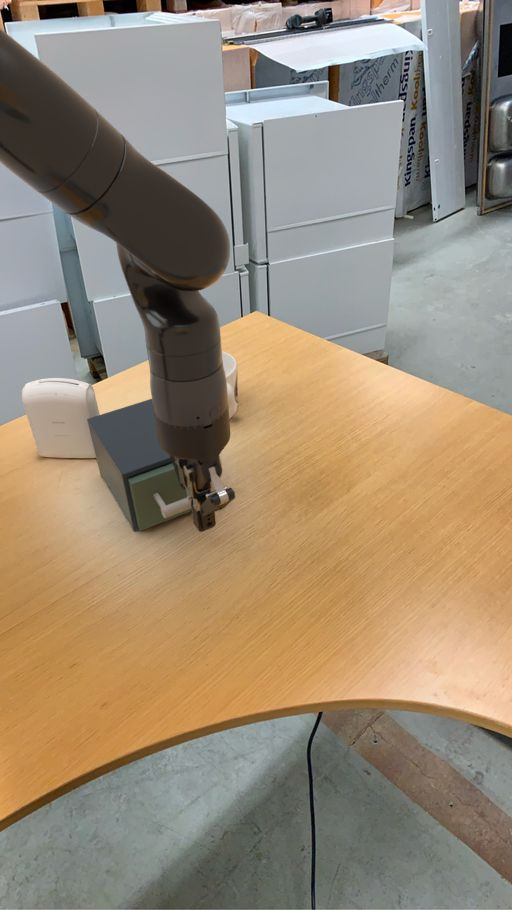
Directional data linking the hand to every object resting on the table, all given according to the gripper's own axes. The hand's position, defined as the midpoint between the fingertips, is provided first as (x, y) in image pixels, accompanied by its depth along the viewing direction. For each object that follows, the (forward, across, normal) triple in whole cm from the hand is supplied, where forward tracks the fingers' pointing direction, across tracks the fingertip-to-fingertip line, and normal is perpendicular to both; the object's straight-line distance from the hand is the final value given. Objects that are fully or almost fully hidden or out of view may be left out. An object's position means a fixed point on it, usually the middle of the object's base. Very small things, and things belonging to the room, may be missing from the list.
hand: (205, 526), depth 76 cm
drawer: (+5, -12, 0) cm, 13 cm away
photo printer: (+6, -30, -8) cm, 31 cm away
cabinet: (+6, -16, 0) cm, 17 cm away
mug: (+6, -28, +14) cm, 32 cm away
